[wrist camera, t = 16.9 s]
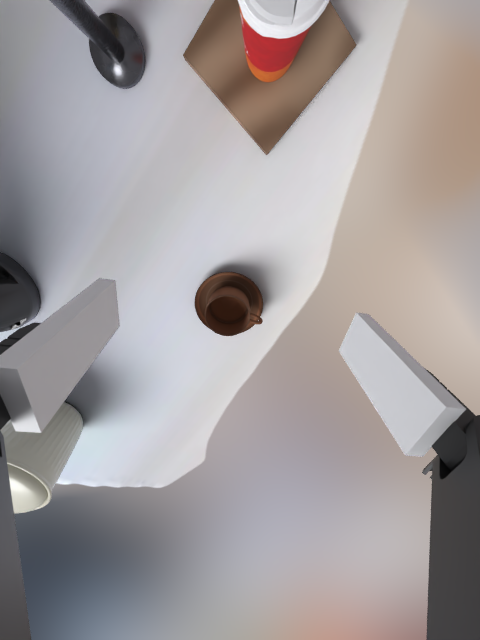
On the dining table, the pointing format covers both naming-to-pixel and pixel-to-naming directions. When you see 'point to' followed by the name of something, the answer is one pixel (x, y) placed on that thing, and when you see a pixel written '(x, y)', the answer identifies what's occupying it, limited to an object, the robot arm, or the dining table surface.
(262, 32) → the paper cup
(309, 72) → the walnut board
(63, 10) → the frame
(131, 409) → the dining table surface
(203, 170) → the dining table surface
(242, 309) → the cup and saucer
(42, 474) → the canister
